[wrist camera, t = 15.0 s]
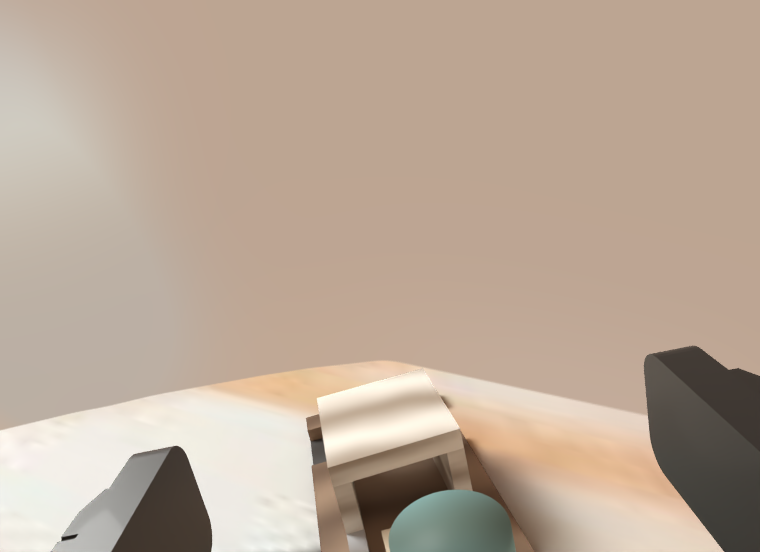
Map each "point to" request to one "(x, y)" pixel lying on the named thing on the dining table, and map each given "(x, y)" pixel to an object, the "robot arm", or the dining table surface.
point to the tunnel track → (391, 497)
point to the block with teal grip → (451, 525)
